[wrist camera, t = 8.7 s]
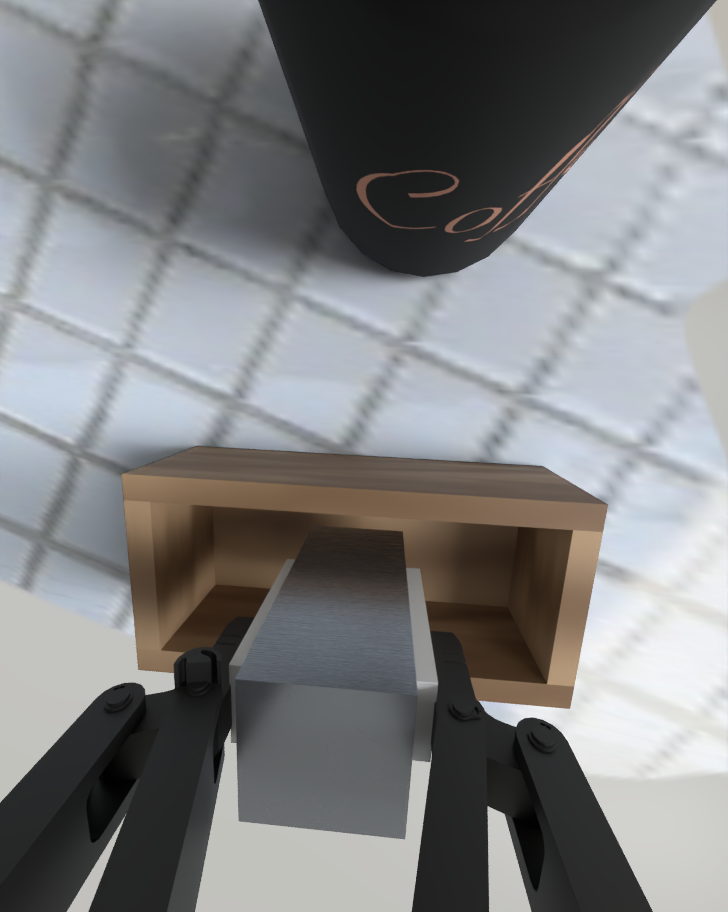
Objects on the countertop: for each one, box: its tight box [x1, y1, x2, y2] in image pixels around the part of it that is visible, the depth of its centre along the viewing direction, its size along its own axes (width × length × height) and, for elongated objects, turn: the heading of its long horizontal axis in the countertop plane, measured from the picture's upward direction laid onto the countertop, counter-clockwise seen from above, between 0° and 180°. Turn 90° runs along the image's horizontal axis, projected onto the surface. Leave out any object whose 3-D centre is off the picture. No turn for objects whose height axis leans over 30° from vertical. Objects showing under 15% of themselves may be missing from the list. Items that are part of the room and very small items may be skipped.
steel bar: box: [235, 525, 418, 839], centre depth 15 cm, size 4×4×10 cm
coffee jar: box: [258, 0, 716, 277], centre depth 11 cm, size 11×11×18 cm
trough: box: [121, 446, 608, 709], centre depth 21 cm, size 10×21×7 cm, turn 87°
